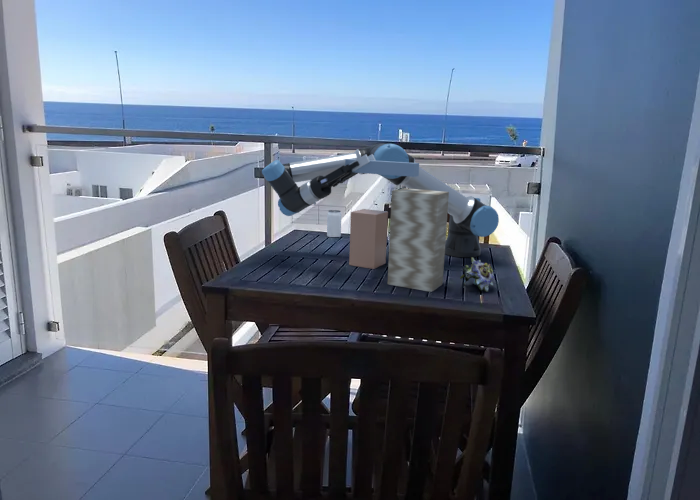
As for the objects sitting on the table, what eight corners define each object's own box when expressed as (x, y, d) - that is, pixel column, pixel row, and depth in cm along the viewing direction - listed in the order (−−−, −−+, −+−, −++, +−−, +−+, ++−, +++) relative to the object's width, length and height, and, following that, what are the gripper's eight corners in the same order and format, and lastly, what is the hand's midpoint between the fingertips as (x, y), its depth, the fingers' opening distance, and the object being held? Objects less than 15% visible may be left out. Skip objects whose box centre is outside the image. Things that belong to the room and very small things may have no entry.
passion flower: (483, 307, 166) (484, 283, 157) (452, 294, 171) (451, 270, 162) (499, 282, 171) (500, 258, 162) (469, 271, 176) (468, 246, 168)
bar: (345, 171, 172) (345, 159, 171) (350, 171, 175) (351, 159, 174) (413, 176, 161) (414, 163, 160) (418, 176, 164) (419, 163, 163)
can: (341, 235, 246) (342, 210, 243) (340, 238, 240) (340, 212, 237) (327, 235, 247) (328, 209, 244) (325, 237, 240) (326, 211, 238)
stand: (387, 284, 168) (391, 190, 162) (399, 277, 177) (404, 188, 171) (431, 291, 162) (438, 194, 155) (442, 284, 170) (449, 191, 164)
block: (349, 265, 191) (350, 212, 187) (361, 259, 200) (363, 208, 196) (373, 269, 187) (376, 214, 183) (385, 263, 196) (387, 211, 191)
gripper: (333, 197, 187) (386, 167, 176) (307, 201, 173) (363, 169, 161) (324, 178, 188) (377, 147, 176) (298, 181, 173) (353, 147, 161)
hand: (370, 158), depth 169 cm, fingers closed on bar, 4 cm apart
